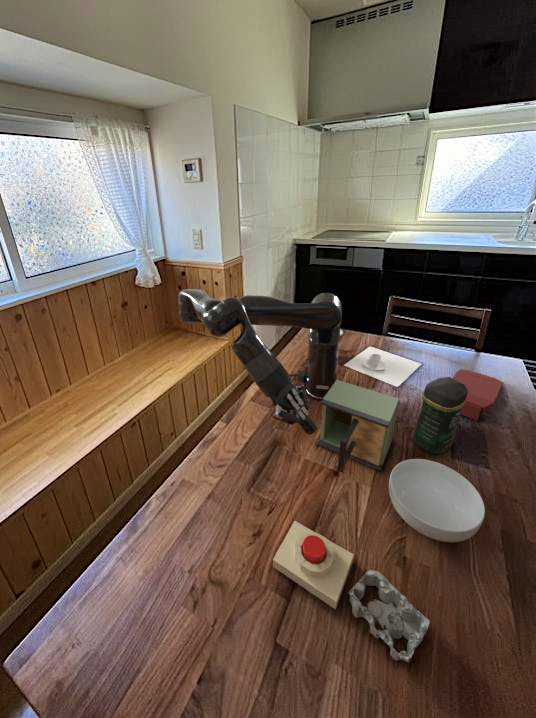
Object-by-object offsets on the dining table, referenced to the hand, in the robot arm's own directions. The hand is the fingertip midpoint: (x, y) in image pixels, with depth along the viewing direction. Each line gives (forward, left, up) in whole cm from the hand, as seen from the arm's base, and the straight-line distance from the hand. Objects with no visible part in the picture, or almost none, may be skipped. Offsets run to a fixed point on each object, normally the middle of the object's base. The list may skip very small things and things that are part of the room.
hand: (313, 431), depth 77 cm
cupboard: (+3, +16, -12) cm, 20 cm away
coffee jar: (+18, +29, -12) cm, 36 cm away
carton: (+21, +58, -12) cm, 63 cm away
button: (+12, -18, -8) cm, 23 cm away
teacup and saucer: (-8, +58, -12) cm, 60 cm away
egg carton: (+25, -17, -12) cm, 33 cm away
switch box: (+12, -18, -12) cm, 25 cm away
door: (+9, +6, -11) cm, 15 cm away
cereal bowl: (+24, +7, -12) cm, 28 cm away
